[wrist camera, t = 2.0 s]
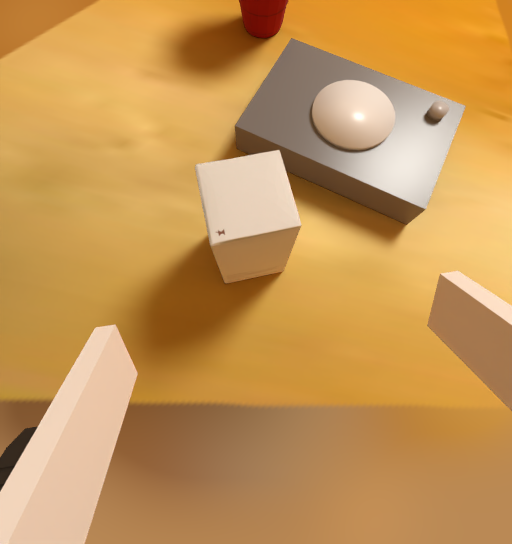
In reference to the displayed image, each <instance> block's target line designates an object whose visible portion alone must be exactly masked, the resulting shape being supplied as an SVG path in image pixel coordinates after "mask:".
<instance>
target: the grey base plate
mask: <svg viewBox="0 0 512 544" xmlns="http://www.w3.org/2000/svg"><path fill="white" fill-rule="evenodd" d="M464 109H465V106H464V105H462V104H459V103H456V102H454V101H451V100H449V99H446V98H444V97H441V96H438V95H436V94H433V93H431V92H428V91H426V90H423V89H421V88H418V87H415V86H413V85H410V84H408V83H405V82H403V81H400V80H397V79H395V78H392V77H390V76H387V75H385V74H382V73H380V72H377V71H374V70H372V69H369V68H367V67H364V66H362V65H359V64H356V63H354V62H351V61H349V60H346V59H344V58H341V57H339V56H336V55H333V54H331V53H328V52H326V51H323V50H321V49H318V48H315V47H313V46H310V45H308V44H305V43H303V42H300V41H298V40H295V39H292V38H291V40H290V41H289V43H288V45H287V46H286V48H285V49H284V51H283V52H282V54H281V55H280V57H279V58H278V60H277V62H276V63H275V65H274V66H273V68H272V69H271V71H270V72H269V74H268V75H267V77H266V79H265V80H264V82H263V83H262V85H261V86H260V88H259V89H258V91H257V93H256V94H255V96H254V97H253V99H252V100H251V102H250V103H249V105H248V106H247V108H246V110H245V111H244V113H243V114H242V116H241V117H240V119H239V120H238V122H237V123H236V125H235V132H236V145H237V149H239V150H241V151H243V152H246V153H248V154H250V155H254V154H259V153H264V152H270V151H276V150H280V153H281V157H282V160H283V163H284V166H285V170H286V171H288V172H290V173H292V174H295V175H297V176H299V177H301V178H304V179H306V180H308V181H310V182H313V183H315V184H317V185H319V186H322V187H324V188H326V189H328V190H330V191H333V192H335V193H337V194H339V195H342V196H344V197H346V198H348V199H351V200H353V201H355V202H357V203H360V204H362V205H364V206H366V207H368V208H371V209H373V210H375V211H377V212H380V213H382V214H384V215H386V216H389V217H391V218H393V219H395V220H397V221H400V222H402V223H404V224H406V225H407V224H408V223H409V222H411V221H412V220H413V219H414V218H416V217H417V216H418V215H419V214H420V213H422V212H423V211H424V210H425V209H426V207H427V205H428V202H429V199H430V197H431V194H432V192H433V189H434V187H435V184H436V181H437V179H438V176H439V174H440V171H441V168H442V166H443V163H444V161H445V158H446V156H447V153H448V150H449V148H450V145H451V143H452V140H453V137H454V135H455V132H456V130H457V127H458V125H459V122H460V119H461V117H462V114H463V112H464Z"/></svg>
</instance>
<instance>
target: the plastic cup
mask: <svg viewBox="0 0 512 544" xmlns="http://www.w3.org/2000/svg"><path fill="white" fill-rule="evenodd" d="M239 2H240V6H241V12H242V18H243V23H244V26H245V28H246V30H247V32H248V33H250V34H251V35H252V36H255V37H258V38H268V37H271V36H273V35H275V34H276V33H278V31H279V29H280V28H281V24H282V22H283V18H284V13H285V9H286V5H287V3H288V0H239Z"/></svg>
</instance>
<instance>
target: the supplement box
mask: <svg viewBox="0 0 512 544" xmlns="http://www.w3.org/2000/svg"><path fill="white" fill-rule="evenodd" d="M195 170H196V176H197V181H198V186H199V191H200V196H201V201H202V207H203V211H204V216H205V221H206V226H207V232H208V237H209V242H210V246H211V249H212V252H213V254H214V257H215V259H216V262H217V265H218V267H219V270H220V273H221V275H222V278H223V280H224V283H225V284H226V283H231V282H236V281H241V280H245V279H250V278H255V277H260V276H264V275H269V274H274V273H278V272H283V271H284V269H285V266H286V264H287V261H288V259H289V256H290V253H291V251H292V248H293V245H294V243H295V240H296V238H297V235H298V232H299V230H300V227H301V222H300V218H299V214H298V210H297V207H296V204H295V200H294V197H293V193H292V190H291V187H290V183H289V180H288V176H287V173H286V170H285V166H284V163H283V160H282V157H281V153H280V150H276V151H270V152H264V153H259V154H254V155H248V156H243V157H237V158H232V159H227V160H220V161H214V162H208V163H202V164H196V165H195Z"/></svg>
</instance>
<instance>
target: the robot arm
mask: <svg viewBox="0 0 512 544" xmlns="http://www.w3.org/2000/svg"><path fill="white" fill-rule="evenodd" d="M427 326H428V327H429V328H430V329H431V330H432V331H433V332H434V333H435V334H436V335H437V336H438V337H439V338H440V339H441V340H442V341H443V342H444V343H445V344H446V345H447V346H448V347H449V348H450V349H451V350H452V351H453V352H454V353H455V354H456V355H457V356H458V357H459V358H460V359H461V360H462V361H463V362H464V363H465V364H466V365H467V366H468V367H469V368H470V369H471V370H472V371H473V372H474V373H475V374H476V375H477V376H478V377H479V378H480V379H481V380H482V381H483V382H484V383H485V384H486V385H487V386H488V387H489V389H490V390H491V391H492V392H493V393H494V394H495V395H496V396H497V397H498V398H499V399H500V400H501V401H502V402H503V403H504V404H505V405H506V406H507V407H508V408H509V409H510V410H511V411H512V306H511V305H510V304H508V303H506V302H505V301H503V300H502V299H500V298H499V297H497V296H496V295H494V294H493V293H491V292H490V291H488V290H487V289H485V288H483V287H482V286H480V285H479V284H477V283H476V282H474V281H473V280H471V279H470V278H468V277H467V276H465V275H463V274H462V273H460V272H459V271H454V272H448V273H442V274H440V276H439V280H438V284H437V288H436V292H435V296H434V300H433V304H432V308H431V312H430V317H429V321H428V325H427ZM137 374H138V373H137V371H136V369H135V366H134V364H133V362H132V360H131V358H130V355H129V353H128V351H127V349H126V347H125V344H124V342H123V340H122V338H121V336H120V333H119V331H118V329H117V327H116V325H109V326H103V327H96V328H95V329H94V331H93V333H92V334H91V336H90V338H89V339H88V341H87V343H86V345H85V346H84V348H83V350H82V351H81V353H80V355H79V357H78V358H77V360H76V362H75V364H74V365H73V367H72V369H71V370H70V372H69V374H68V376H67V377H66V379H65V381H64V383H63V384H62V386H61V388H60V389H59V391H58V393H57V395H56V396H55V398H54V400H53V402H52V403H51V405H50V407H49V408H48V410H47V412H46V414H45V415H44V417H43V419H42V421H41V422H40V424H39V426H38V427H32V428H27V429H24V431H23V432H22V433H21V434H20V435H19V436H18V437H17V438H16V439H15V440H14V441H13V442H12V443H11V444H10V445H9V446H8V447H7V448H6V450H5V451H4V453H3V454H2V456H1V457H0V544H85V540H86V537H87V534H88V531H89V528H90V524H91V521H92V518H93V515H94V512H95V508H96V505H97V502H98V499H99V495H100V492H101V489H102V486H103V483H104V480H105V476H106V473H107V470H108V467H109V463H110V460H111V457H112V454H113V451H114V448H115V444H116V441H117V438H118V435H119V432H120V429H121V425H122V422H123V419H124V415H125V412H126V409H127V406H128V403H129V400H130V397H131V393H132V390H133V387H134V384H135V381H136V377H137Z"/></svg>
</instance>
